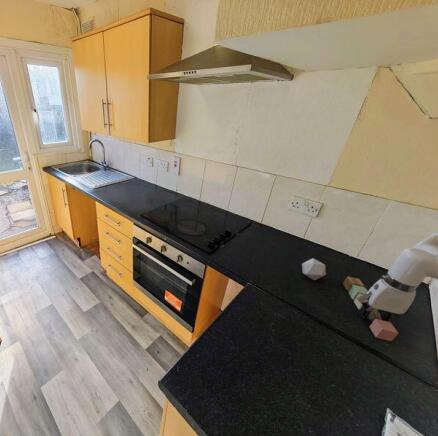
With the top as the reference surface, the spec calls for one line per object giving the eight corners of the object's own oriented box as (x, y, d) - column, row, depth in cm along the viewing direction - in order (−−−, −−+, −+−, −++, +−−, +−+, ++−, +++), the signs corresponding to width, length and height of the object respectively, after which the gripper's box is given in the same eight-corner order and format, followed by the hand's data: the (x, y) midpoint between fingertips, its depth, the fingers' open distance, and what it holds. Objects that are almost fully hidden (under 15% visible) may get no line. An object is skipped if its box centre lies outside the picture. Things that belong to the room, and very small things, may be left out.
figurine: (374, 316, 86) (383, 305, 83) (383, 326, 82) (392, 315, 80) (359, 313, 87) (367, 302, 84) (366, 323, 83) (375, 312, 80)
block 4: (383, 330, 81) (390, 322, 79) (391, 341, 77) (398, 333, 75) (369, 326, 82) (375, 318, 80) (375, 337, 78) (382, 329, 76)
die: (325, 280, 104) (323, 258, 105) (327, 282, 96) (325, 258, 98) (303, 278, 109) (301, 257, 110) (303, 280, 101) (301, 257, 103)
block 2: (360, 295, 96) (365, 287, 94) (365, 302, 92) (370, 294, 90) (347, 292, 97) (352, 284, 95) (352, 299, 93) (357, 291, 91)
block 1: (354, 286, 100) (359, 278, 98) (358, 293, 97) (364, 285, 95) (342, 283, 101) (347, 276, 99) (346, 290, 98) (351, 282, 96)
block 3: (366, 304, 91) (372, 296, 89) (372, 313, 88) (378, 305, 85) (353, 301, 92) (358, 293, 90) (358, 309, 89) (364, 301, 87)
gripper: (374, 283, 75) (349, 319, 83) (440, 297, 71) (406, 334, 79) (363, 269, 81) (341, 304, 90) (423, 281, 77) (393, 317, 85)
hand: (372, 318), depth 84 cm, fingers closed on figurine, 5 cm apart
